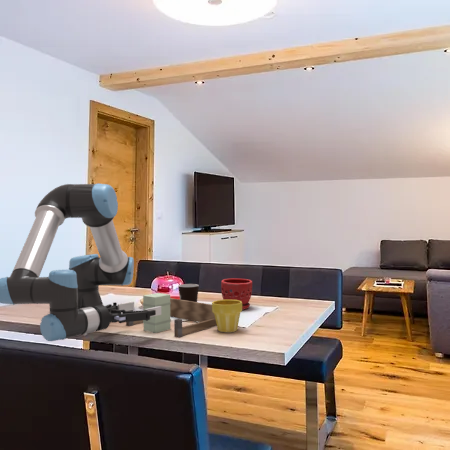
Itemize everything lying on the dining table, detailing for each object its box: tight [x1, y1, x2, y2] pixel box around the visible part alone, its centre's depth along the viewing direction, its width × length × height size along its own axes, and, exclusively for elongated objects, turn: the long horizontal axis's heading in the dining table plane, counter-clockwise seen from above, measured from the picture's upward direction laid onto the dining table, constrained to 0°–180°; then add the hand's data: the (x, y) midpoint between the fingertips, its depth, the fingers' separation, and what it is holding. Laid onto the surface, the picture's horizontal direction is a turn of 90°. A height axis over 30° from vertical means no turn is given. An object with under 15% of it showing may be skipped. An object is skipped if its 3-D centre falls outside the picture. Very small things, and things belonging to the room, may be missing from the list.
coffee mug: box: [177, 283, 200, 302], centre depth 194 cm, size 12×9×10 cm
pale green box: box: [142, 292, 172, 334], centre depth 159 cm, size 6×7×12 cm
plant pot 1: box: [220, 277, 253, 311], centre depth 194 cm, size 13×13×12 cm
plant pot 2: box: [211, 299, 243, 333], centre depth 157 cm, size 10×10×10 cm
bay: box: [125, 297, 217, 338], centre depth 165 cm, size 27×21×7 cm
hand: (146, 307), depth 155 cm, fingers open, 13 cm apart
